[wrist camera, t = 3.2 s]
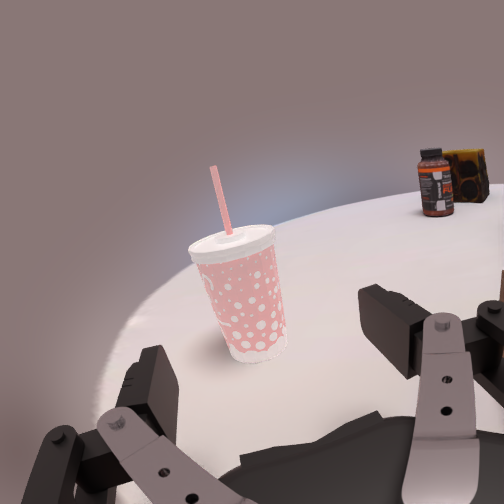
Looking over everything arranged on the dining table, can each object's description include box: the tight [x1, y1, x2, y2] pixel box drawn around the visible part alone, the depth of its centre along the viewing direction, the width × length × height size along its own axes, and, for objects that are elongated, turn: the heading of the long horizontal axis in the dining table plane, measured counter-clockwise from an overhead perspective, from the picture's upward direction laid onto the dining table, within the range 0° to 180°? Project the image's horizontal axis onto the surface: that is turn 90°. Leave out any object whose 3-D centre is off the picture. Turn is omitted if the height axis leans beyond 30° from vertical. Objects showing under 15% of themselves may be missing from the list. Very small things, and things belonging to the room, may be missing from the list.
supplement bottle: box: [418, 148, 454, 216], centre depth 46 cm, size 6×6×11 cm
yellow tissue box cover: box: [442, 149, 489, 203], centre depth 52 cm, size 10×10×10 cm
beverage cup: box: [188, 166, 288, 363], centre depth 22 cm, size 6×6×14 cm
